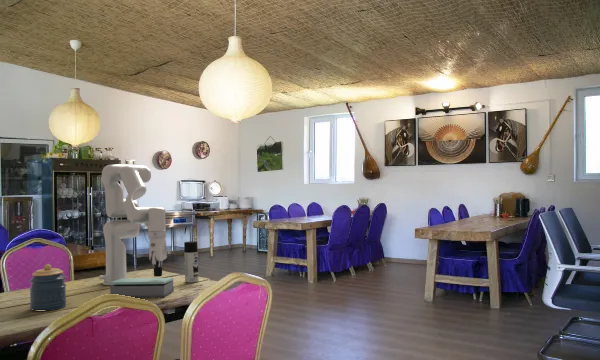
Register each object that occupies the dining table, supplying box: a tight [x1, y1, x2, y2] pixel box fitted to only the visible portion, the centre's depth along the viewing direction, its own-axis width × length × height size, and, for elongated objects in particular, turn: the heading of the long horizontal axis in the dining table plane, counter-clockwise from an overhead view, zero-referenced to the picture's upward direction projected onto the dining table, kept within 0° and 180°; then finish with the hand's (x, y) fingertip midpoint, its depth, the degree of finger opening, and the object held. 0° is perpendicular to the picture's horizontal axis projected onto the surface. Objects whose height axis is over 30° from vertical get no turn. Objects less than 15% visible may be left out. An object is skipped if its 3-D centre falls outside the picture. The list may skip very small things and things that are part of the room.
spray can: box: [183, 240, 200, 284], centre depth 236 cm, size 7×7×20 cm
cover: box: [109, 277, 174, 286], centre depth 209 cm, size 24×12×1 cm, turn 87°
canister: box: [29, 263, 67, 311], centre depth 189 cm, size 13×13×18 cm
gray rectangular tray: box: [109, 279, 174, 299], centre depth 209 cm, size 24×12×5 cm, turn 87°
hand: (158, 276), depth 208 cm, fingers closed
